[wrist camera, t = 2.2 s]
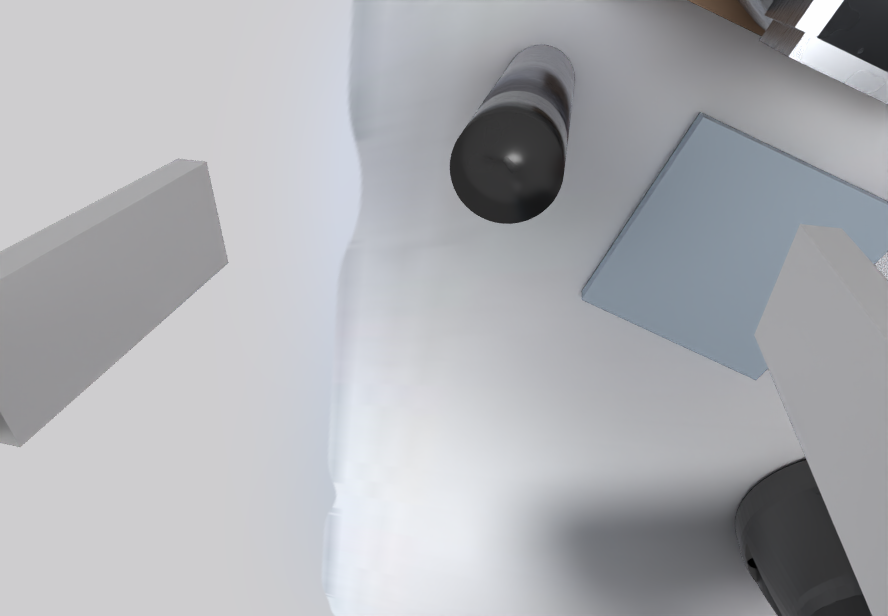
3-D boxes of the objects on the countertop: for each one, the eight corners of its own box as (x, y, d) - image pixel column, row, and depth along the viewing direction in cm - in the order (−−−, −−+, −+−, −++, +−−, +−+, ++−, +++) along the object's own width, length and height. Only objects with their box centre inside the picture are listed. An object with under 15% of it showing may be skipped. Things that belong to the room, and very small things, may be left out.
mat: (751, 370, 35) (755, 380, 35) (581, 291, 35) (581, 299, 34) (910, 212, 28) (919, 220, 28) (700, 112, 28) (703, 116, 27)
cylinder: (554, 129, 30) (531, 240, 19) (493, 100, 30) (434, 195, 19) (587, 63, 28) (585, 142, 17) (523, 32, 28) (476, 91, 16)
